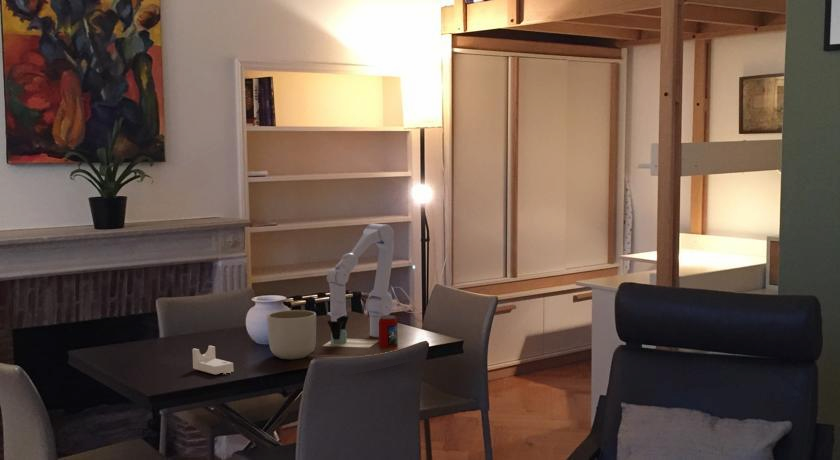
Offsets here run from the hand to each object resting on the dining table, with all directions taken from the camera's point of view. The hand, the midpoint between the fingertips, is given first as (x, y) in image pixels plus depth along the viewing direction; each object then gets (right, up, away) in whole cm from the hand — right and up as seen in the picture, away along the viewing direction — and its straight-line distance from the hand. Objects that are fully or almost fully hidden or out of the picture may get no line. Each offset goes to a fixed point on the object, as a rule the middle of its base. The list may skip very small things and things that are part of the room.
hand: (338, 337), depth 354 cm
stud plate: (+5, -3, -1) cm, 6 cm away
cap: (0, -2, 0) cm, 2 cm away
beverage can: (+19, -4, -7) cm, 20 cm away
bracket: (-38, -8, -38) cm, 55 cm away
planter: (-15, -5, -18) cm, 24 cm away
